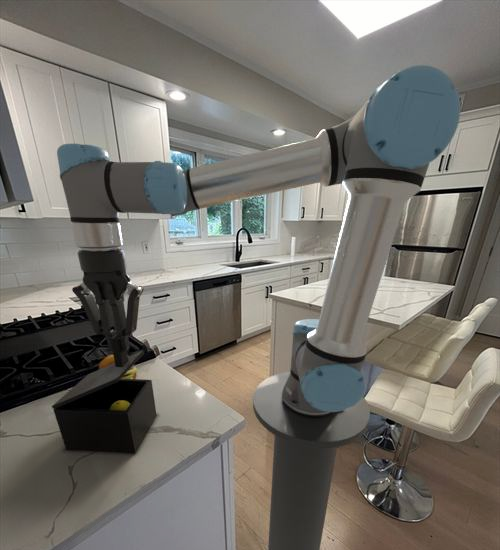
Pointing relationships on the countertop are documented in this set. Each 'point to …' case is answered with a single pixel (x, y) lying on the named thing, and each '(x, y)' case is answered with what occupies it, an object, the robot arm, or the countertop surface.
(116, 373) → the box lid
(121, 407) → the lemon
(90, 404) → the black open box
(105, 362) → the cheeseburger
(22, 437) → the countertop surface
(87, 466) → the countertop surface
